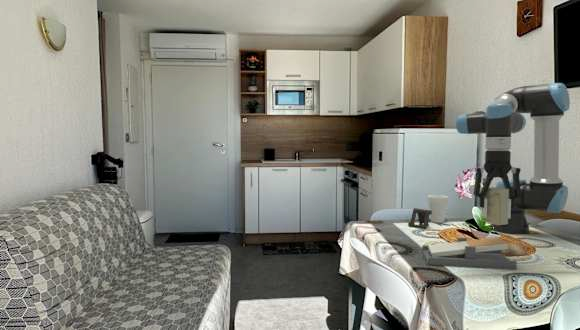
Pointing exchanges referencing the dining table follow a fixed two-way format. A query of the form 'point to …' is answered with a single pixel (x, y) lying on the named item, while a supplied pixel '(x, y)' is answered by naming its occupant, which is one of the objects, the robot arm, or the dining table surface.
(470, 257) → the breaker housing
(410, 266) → the dining table surface
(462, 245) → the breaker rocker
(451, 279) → the dining table surface
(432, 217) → the foam cup
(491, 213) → the skincare box
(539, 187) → the robot arm
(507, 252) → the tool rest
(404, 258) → the dining table surface
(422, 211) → the portable electronic device stand
